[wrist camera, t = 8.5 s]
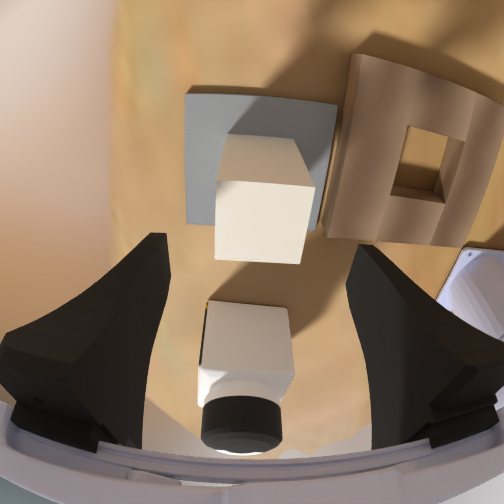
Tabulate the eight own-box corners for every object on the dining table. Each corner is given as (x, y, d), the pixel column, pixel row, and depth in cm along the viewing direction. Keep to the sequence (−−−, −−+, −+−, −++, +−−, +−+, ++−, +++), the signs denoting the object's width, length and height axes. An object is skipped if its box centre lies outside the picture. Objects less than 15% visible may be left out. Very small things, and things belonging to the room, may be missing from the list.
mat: (335, 104, 17) (338, 105, 17) (313, 227, 22) (314, 231, 22) (186, 93, 17) (185, 94, 16) (188, 220, 22) (186, 224, 22)
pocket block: (493, 101, 16) (509, 108, 14) (450, 234, 23) (461, 248, 21) (351, 53, 15) (362, 53, 13) (321, 222, 22) (327, 237, 21)
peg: (293, 139, 18) (315, 187, 12) (285, 196, 20) (299, 264, 15) (227, 133, 18) (216, 179, 12) (224, 192, 20) (214, 259, 15)
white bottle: (206, 297, 27) (191, 429, 17) (288, 305, 27) (302, 434, 18) (203, 346, 31) (193, 456, 21) (272, 352, 32) (278, 461, 22)
